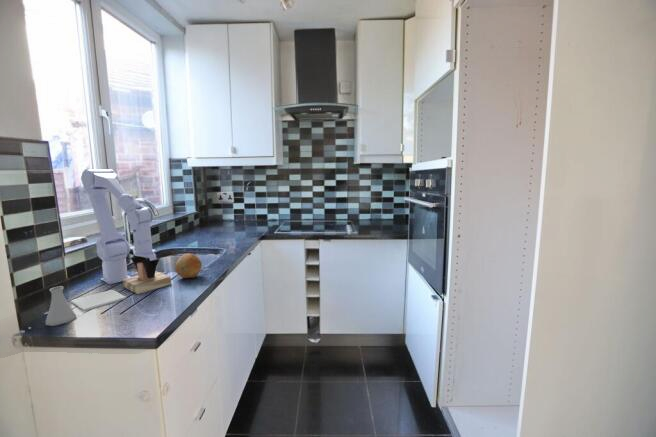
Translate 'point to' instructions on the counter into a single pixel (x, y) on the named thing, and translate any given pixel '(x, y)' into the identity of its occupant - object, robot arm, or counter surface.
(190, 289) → the counter surface
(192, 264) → the onion
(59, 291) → the flask
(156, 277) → the pocket block
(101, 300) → the mat
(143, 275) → the peg
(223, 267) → the counter surface
